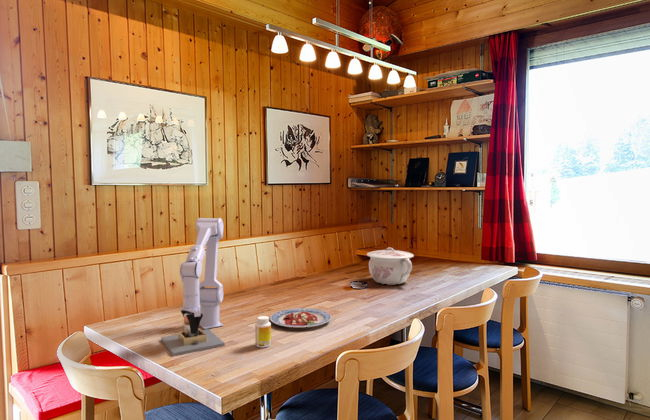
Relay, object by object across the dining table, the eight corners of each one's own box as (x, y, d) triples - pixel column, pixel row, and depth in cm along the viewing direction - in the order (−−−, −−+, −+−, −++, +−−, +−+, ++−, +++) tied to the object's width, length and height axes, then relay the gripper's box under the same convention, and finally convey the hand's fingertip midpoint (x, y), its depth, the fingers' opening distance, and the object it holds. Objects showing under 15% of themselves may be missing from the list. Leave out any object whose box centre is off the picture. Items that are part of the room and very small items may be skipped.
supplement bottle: (274, 345, 162) (274, 317, 161) (262, 349, 158) (261, 320, 157) (264, 341, 166) (264, 314, 165) (252, 345, 162) (252, 317, 161)
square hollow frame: (177, 337, 166) (176, 331, 166) (199, 333, 171) (198, 327, 170) (184, 346, 157) (184, 340, 157) (207, 342, 162) (207, 335, 161)
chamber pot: (367, 276, 277) (367, 243, 275) (412, 278, 273) (412, 244, 272) (364, 287, 249) (365, 250, 248) (415, 289, 245) (415, 251, 244)
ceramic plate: (262, 316, 196) (262, 310, 196) (317, 310, 206) (317, 303, 206) (280, 335, 172) (280, 328, 172) (341, 327, 183) (341, 320, 182)
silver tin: (196, 334, 167) (195, 310, 167) (200, 338, 163) (200, 314, 162) (182, 337, 164) (182, 313, 164) (186, 341, 160) (186, 316, 160)
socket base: (161, 340, 167) (161, 337, 167) (208, 331, 176) (208, 328, 176) (173, 356, 152) (173, 353, 151) (224, 345, 161) (224, 343, 161)
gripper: (174, 291, 167) (175, 327, 168) (185, 300, 155) (186, 339, 155) (193, 289, 170) (194, 324, 171) (206, 297, 158) (206, 335, 159)
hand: (192, 331), depth 164 cm, fingers closed on silver tin, 5 cm apart
